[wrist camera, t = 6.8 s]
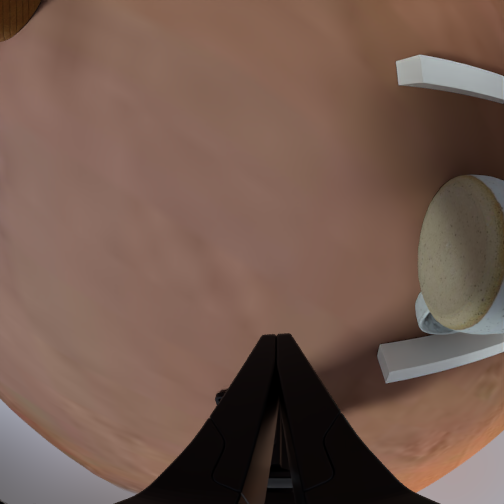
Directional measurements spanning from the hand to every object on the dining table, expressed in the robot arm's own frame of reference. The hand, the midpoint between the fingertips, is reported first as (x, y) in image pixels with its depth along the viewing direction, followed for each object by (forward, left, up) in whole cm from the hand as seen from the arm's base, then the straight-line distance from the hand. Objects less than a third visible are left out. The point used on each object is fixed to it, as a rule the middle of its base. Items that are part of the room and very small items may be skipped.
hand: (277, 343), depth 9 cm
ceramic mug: (-1, -12, -7) cm, 14 cm away
